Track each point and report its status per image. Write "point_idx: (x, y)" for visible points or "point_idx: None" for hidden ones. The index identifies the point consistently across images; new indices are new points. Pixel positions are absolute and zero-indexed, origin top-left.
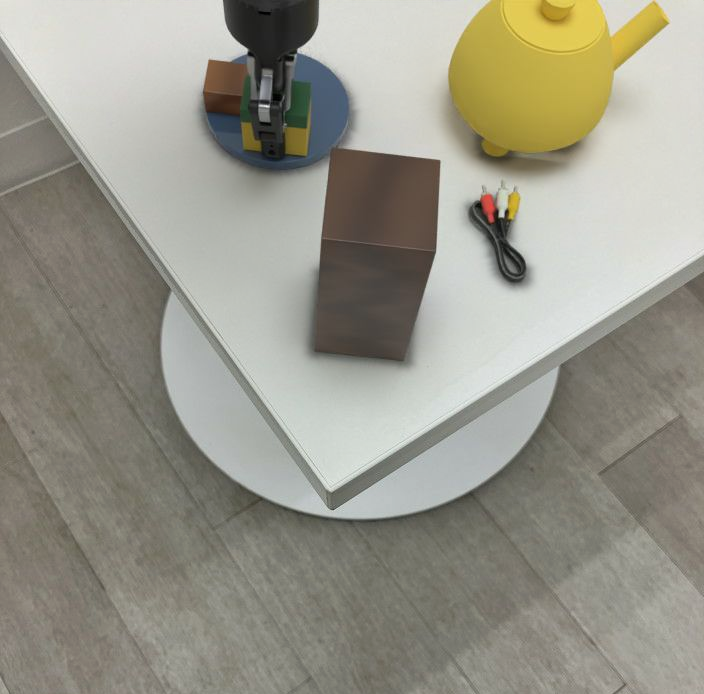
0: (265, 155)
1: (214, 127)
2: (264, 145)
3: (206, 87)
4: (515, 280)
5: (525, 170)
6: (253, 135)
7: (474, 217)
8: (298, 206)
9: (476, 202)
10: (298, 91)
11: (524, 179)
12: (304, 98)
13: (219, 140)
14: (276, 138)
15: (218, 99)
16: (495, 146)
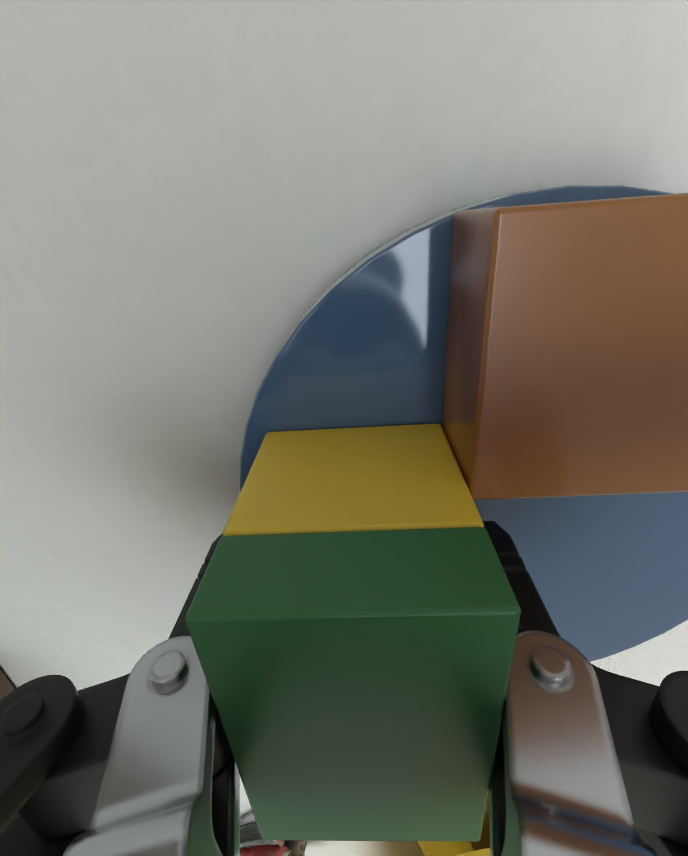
0: (220, 537)
1: (356, 284)
2: (197, 582)
3: (533, 231)
4: None
5: (389, 852)
6: (11, 705)
7: (244, 836)
8: (150, 578)
9: (274, 844)
10: (412, 814)
11: (369, 852)
12: (367, 834)
13: (304, 315)
14: (2, 831)
15: (470, 312)
16: (425, 848)
